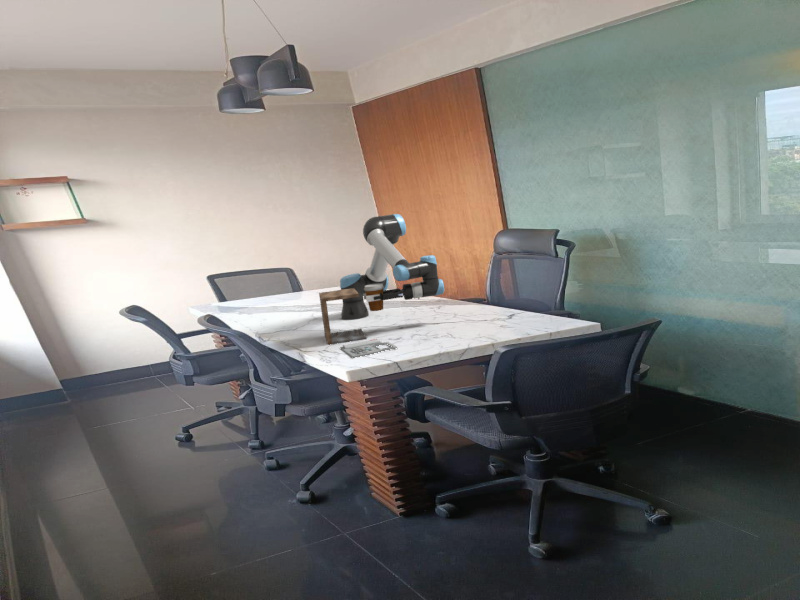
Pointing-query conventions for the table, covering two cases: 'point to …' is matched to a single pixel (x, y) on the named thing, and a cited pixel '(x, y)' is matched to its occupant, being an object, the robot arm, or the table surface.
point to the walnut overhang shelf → (330, 337)
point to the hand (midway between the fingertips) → (365, 297)
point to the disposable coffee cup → (374, 290)
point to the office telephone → (365, 348)
